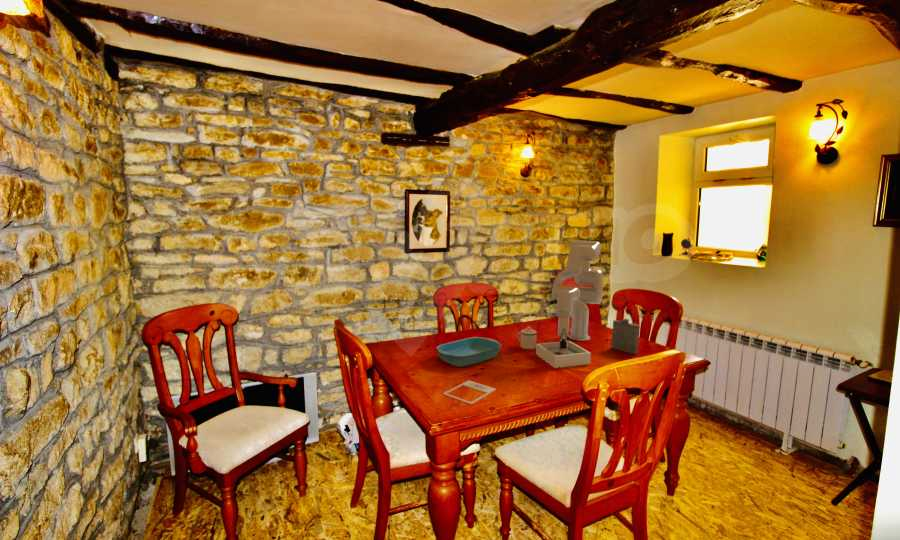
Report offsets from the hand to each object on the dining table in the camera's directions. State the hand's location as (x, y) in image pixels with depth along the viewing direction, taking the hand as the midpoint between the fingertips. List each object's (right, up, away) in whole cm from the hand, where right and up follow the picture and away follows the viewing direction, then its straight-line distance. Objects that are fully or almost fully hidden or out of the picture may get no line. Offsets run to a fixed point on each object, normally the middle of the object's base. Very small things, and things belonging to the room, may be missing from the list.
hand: (563, 345), depth 224 cm
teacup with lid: (-16, -5, +21) cm, 27 cm away
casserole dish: (-49, -7, +3) cm, 49 cm away
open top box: (0, -7, +1) cm, 7 cm away
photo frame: (-50, -14, -39) cm, 65 cm away
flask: (+37, -6, +15) cm, 41 cm away
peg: (0, -7, +1) cm, 7 cm away
